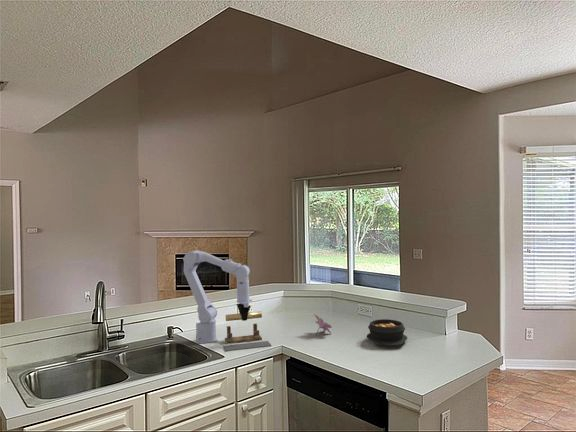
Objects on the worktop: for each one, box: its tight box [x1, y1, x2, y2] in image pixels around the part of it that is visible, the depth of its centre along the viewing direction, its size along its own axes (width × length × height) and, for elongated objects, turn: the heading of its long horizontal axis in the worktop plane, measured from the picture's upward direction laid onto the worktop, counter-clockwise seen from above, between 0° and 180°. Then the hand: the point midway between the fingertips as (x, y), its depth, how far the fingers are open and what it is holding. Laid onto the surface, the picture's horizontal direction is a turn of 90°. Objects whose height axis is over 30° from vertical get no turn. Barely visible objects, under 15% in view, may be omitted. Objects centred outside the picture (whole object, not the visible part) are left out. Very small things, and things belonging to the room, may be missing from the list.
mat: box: [222, 340, 272, 352], centre depth 193 cm, size 21×7×1 cm, turn 106°
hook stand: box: [224, 323, 263, 345], centre depth 203 cm, size 17×6×6 cm, turn 106°
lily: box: [313, 313, 333, 336], centre depth 210 cm, size 12×12×10 cm
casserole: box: [366, 318, 408, 347], centre depth 196 cm, size 25×19×8 cm
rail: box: [225, 310, 263, 322], centre depth 201 cm, size 17×3×3 cm, turn 107°
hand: (243, 319), depth 201 cm, fingers closed on rail, 3 cm apart
